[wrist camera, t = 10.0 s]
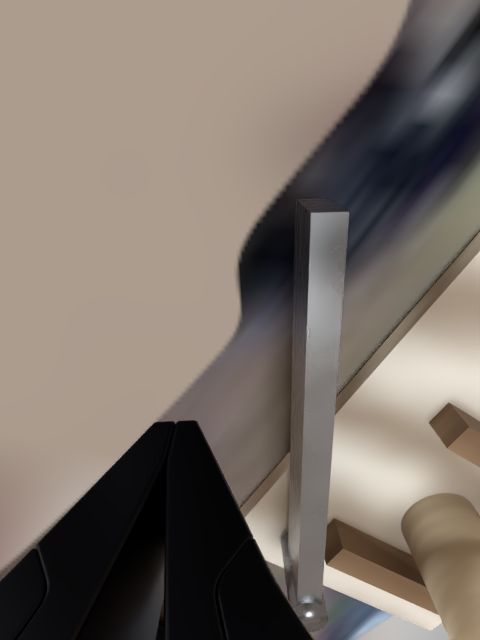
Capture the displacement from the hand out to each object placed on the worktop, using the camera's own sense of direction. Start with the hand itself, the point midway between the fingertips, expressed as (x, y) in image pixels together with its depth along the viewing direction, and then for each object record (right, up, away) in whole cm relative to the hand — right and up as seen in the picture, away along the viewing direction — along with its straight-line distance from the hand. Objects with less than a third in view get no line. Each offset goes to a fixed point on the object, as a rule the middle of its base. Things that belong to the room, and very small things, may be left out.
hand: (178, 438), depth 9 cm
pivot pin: (+13, -10, +16) cm, 23 cm away
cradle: (+13, -6, +16) cm, 22 cm away
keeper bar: (+4, -2, +13) cm, 13 cm away
